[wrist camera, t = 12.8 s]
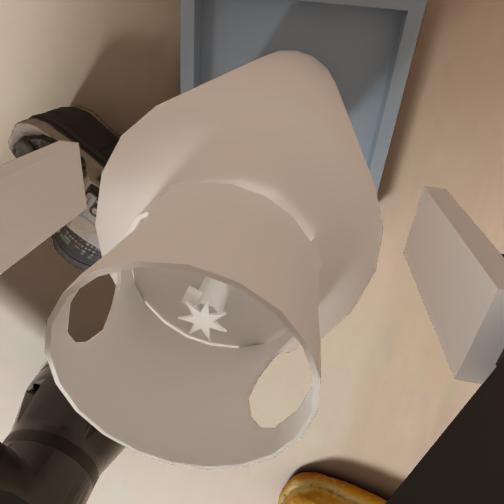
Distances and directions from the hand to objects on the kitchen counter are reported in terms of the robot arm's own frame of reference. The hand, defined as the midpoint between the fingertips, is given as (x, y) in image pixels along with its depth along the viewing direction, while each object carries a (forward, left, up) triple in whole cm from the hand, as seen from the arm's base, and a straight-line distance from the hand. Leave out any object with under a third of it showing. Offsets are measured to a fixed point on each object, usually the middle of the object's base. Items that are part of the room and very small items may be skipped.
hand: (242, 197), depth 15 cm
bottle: (0, 0, -19) cm, 19 cm away
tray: (0, 0, -19) cm, 19 cm away
